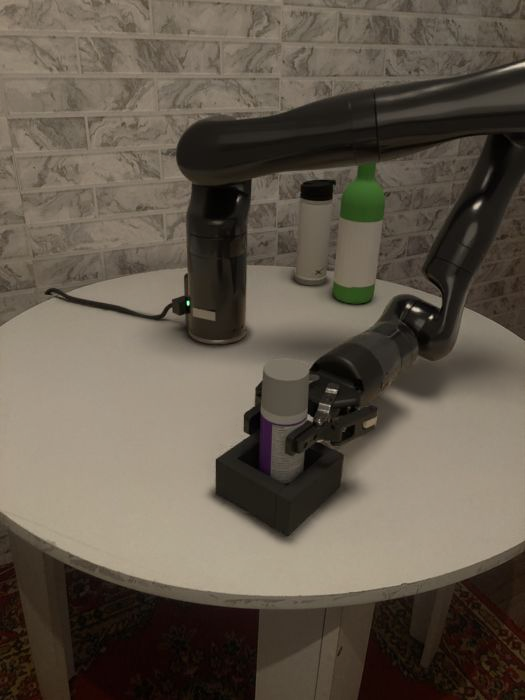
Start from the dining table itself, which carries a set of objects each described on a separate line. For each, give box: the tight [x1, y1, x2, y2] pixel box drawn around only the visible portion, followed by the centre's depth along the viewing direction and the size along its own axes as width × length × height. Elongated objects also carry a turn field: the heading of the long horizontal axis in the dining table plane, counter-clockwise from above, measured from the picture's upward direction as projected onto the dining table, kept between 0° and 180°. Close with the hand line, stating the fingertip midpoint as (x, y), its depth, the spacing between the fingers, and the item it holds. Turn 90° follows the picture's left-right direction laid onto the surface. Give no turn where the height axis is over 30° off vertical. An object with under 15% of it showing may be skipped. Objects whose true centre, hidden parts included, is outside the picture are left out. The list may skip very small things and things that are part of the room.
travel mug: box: [294, 178, 337, 287], centre depth 115 cm, size 6×7×20 cm
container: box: [259, 357, 310, 486], centre depth 61 cm, size 5×5×15 cm
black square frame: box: [215, 429, 345, 537], centre depth 63 cm, size 10×10×4 cm
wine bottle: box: [332, 163, 386, 305], centre depth 106 cm, size 8×8×30 cm
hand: (267, 436), depth 58 cm, fingers closed on container, 4 cm apart
